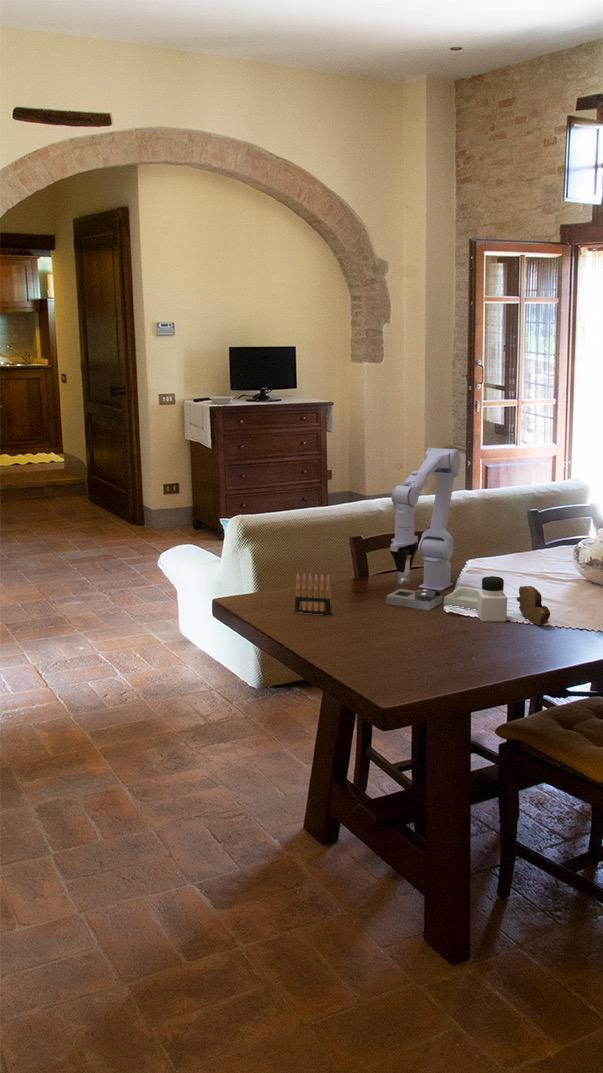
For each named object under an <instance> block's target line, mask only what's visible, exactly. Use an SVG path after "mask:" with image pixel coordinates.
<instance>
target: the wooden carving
mask: <svg viewBox="0 0 603 1073" xmlns="http://www.w3.org/2000/svg"><path fill="white" fill-rule="evenodd" d="M518 593H519V596H517V597H516V601H517V602H518V603H519V607H518V609H519V611H520V613H521V614H522V617H524V619H526V620H527V619H528V620H529V621H530V622H529V621H528V620H527V621H528V622H529V623H536V624H537V625H538V626H544V625H548V624H549V623H548V622H549V619H550V618H551V612H550V609H549V607H548V606H546V605H543V604H542V601H543V600H542V593H541V592H539V590H538V589H536V588H535V587H534V586H532V585H524V586H522V585H521V586H519V588H518Z"/></svg>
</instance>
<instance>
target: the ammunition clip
mask: <svg viewBox="0 0 603 1073" xmlns="http://www.w3.org/2000/svg"><path fill="white" fill-rule="evenodd" d="M295 579H296V581H295V598H294V613H295V612H303V613H312V614H323V615H322V616H324V615H330V616H331V615H332V614H333V609H332V608H333V607H332V589H331V578H330V574H327V575H326V579H325V578H324V574H321V575H320V579H319V578H318V574H317V573H316V574H315V576H314V578H313V576H312V574H311V573H309V576H308V578H307V577H306V574H305V573H303V575H302V581H301V576H300V574H299V572H298V573H297V575H296V578H295ZM307 579H308V580H307ZM313 579H314V580H313ZM313 582H314V583H313Z"/></svg>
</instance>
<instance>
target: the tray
mask: <svg viewBox="0 0 603 1073" xmlns="http://www.w3.org/2000/svg"><path fill="white" fill-rule="evenodd" d="M445 605H452V606H459V607H464V608H470V609H469V610H471V609H476V610H475V611H477V608H478V591H476V590H468V589H462V588H461V589H460V588H458V589H456V590H455V591H453V592H450V593H448V594H447V595H445V596H444V597H443V606H445ZM445 607H446V606H445ZM464 608H463V609H464Z"/></svg>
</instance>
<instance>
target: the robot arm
mask: <svg viewBox="0 0 603 1073" xmlns="http://www.w3.org/2000/svg"><path fill="white" fill-rule="evenodd" d="M461 460H462V458H461V455H460V452H459V450H458V449H456V448H439V447H437V448H436V447H433V446H432V447H428V448H427V450H426V451H425V452H424V459H423V462H422V463H421V465H420V467H419V468H418V470H413V471H412V472H411V473H409V475H408V476H407V477H406V478H405V480H404V481H403V482H402V484H399V485H396V486H394V487H393V489H392V493H391V496H390V497H391V498H390V499H391V502H392V505H393V506H392V509H393V511H394V538H392V539H391V544H389V545H390V548H389V551H390V552H389V553H390V554H391V556H392V557H393V561H394V563H395V568H396V569H395V570H396V571H397V573H398V572H404V571H405V565H406V559H407V555H408V553H409V554H411V558H410V570H411V569H412V566H413V563H414V559H415V555H416V553H417V551H418V553H419V555H420V557H421V560H423V583H422V584H420V585H419V586H418V588H419V589H429V590H433V591H438V592H441V591H443V590H445V589H447V588H449V587H451V586H452V585H454V582H451V576H452V575H451V570H452V569H451V568H452V565H451V562H450V559H451V557H452V556H453V554H454V537H453V536H452V534H450V532H449V531H448V530H447V526H448V519H449V514H450V507H451V501H452V494H453V488H454V482H455V478H456V477H458V476H459V472H460V467H461ZM431 475H434V476H436V478H437V482H436V488H435V494H434V495H435V496H434V500H433V507H432V508H433V509H432V515H431V520H430V527H429V528H428V529H426V530H425V531H424V532H422V534H421V538H420V541H418V540H419V536H418V535H415V510H416V508H415V506H416V505H417V504H418V502H419V498H420V495H421V492H422V491H423V490H424V488H425V487H426V486H427V485H428V478H429V477H430V476H431ZM418 542H419V543H418ZM417 543H418V544H417Z"/></svg>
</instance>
